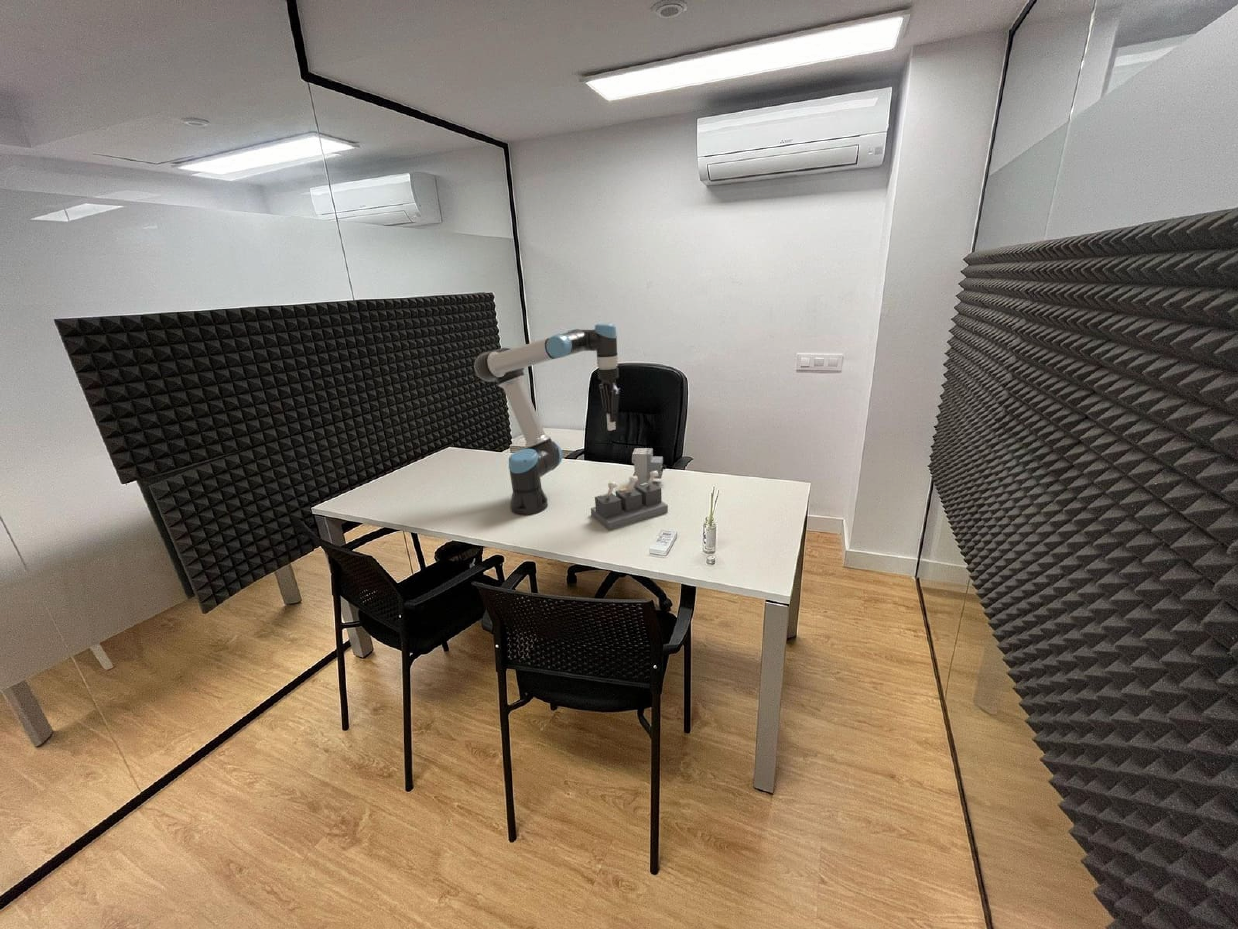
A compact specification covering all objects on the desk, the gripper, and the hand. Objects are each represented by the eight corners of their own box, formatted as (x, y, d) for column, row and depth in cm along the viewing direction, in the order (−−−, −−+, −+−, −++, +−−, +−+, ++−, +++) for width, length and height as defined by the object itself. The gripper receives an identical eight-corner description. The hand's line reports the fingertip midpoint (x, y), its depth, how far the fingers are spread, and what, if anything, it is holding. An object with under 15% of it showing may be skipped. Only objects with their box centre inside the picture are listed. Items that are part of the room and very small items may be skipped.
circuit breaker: (665, 486, 211) (664, 454, 206) (633, 485, 214) (631, 453, 209) (666, 480, 218) (666, 448, 213) (635, 479, 221) (634, 448, 216)
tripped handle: (624, 489, 185) (630, 476, 178) (629, 488, 186) (635, 474, 179) (626, 494, 184) (632, 480, 177) (632, 492, 185) (638, 479, 178)
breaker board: (591, 515, 189) (588, 474, 183) (647, 498, 201) (646, 460, 194) (609, 530, 177) (606, 487, 171) (667, 512, 188) (667, 471, 182)
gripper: (625, 368, 172) (628, 431, 180) (608, 364, 183) (612, 424, 191) (607, 371, 169) (611, 435, 177) (590, 366, 179) (595, 427, 188)
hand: (611, 429), depth 184 cm, fingers closed
